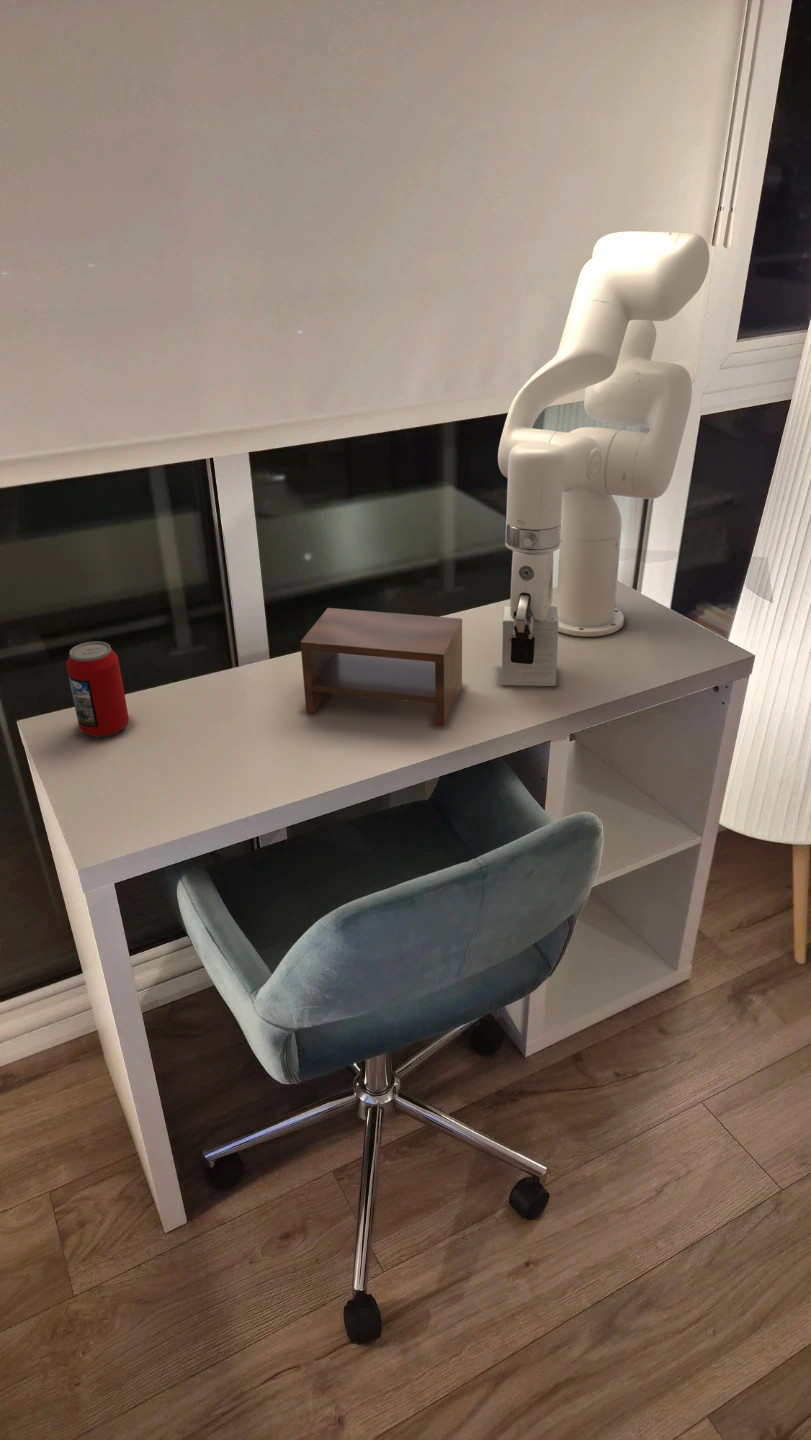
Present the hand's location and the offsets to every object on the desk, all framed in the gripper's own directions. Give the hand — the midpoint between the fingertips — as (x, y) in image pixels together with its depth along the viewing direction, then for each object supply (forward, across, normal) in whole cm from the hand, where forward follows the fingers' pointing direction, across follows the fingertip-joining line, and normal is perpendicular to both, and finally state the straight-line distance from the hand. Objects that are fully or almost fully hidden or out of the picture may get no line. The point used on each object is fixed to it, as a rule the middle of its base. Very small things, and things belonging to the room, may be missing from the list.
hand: (527, 649), depth 151 cm
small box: (+5, +1, 0) cm, 5 cm away
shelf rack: (+6, -10, +19) cm, 22 cm away
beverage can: (+7, -26, +55) cm, 61 cm away
